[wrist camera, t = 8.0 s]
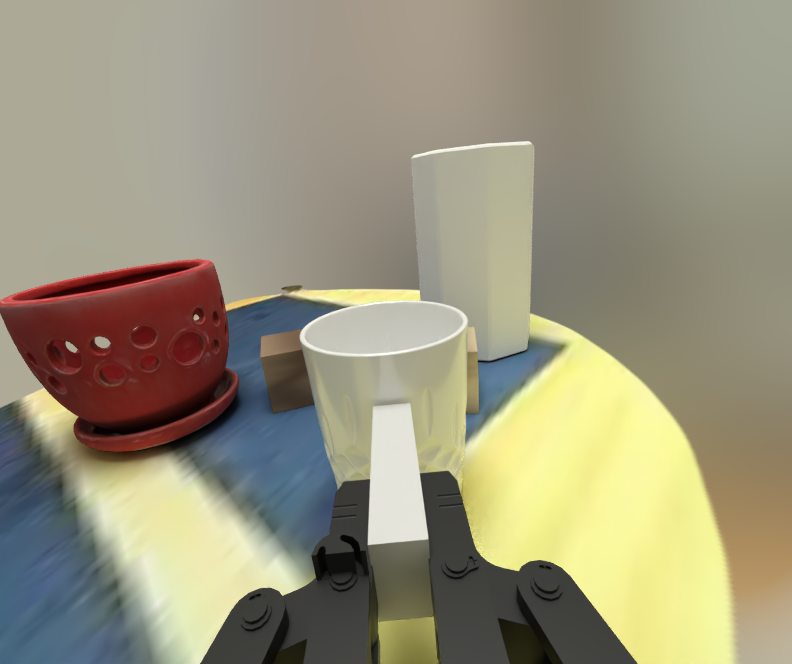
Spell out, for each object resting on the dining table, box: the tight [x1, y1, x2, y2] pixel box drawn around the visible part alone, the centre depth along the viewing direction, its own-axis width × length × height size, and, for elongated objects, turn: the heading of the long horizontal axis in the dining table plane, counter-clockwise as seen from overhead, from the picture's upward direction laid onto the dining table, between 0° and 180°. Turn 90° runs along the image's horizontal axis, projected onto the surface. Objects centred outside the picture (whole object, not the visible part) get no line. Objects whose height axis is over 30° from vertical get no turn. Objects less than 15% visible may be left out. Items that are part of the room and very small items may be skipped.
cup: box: [411, 141, 534, 361], centre depth 39 cm, size 11×11×18 cm
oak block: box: [466, 327, 479, 414], centre depth 31 cm, size 5×5×5 cm
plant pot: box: [0, 259, 239, 452], centre depth 30 cm, size 13×13×12 cm
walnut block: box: [261, 329, 315, 414], centre depth 34 cm, size 5×5×5 cm
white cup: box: [300, 301, 468, 493], centre depth 20 cm, size 8×8×10 cm
